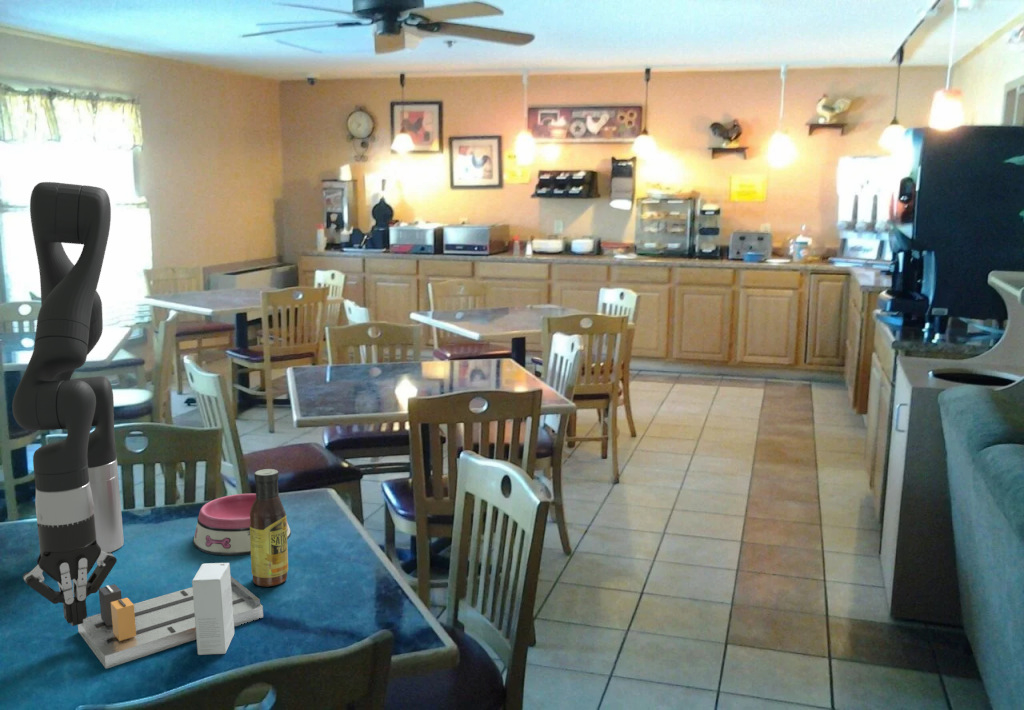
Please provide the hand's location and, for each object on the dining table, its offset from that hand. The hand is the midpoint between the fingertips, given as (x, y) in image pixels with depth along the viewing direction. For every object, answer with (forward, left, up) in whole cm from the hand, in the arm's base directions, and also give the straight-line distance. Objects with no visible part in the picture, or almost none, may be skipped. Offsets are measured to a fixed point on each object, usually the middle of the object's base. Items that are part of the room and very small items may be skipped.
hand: (76, 622), depth 132 cm
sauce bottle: (-2, +32, -4) cm, 32 cm away
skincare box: (+14, +16, -4) cm, 21 cm away
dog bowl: (-24, +37, -4) cm, 44 cm away
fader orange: (+6, +5, -1) cm, 8 cm away
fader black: (0, +5, -1) cm, 5 cm away
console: (+3, +13, -4) cm, 14 cm away
